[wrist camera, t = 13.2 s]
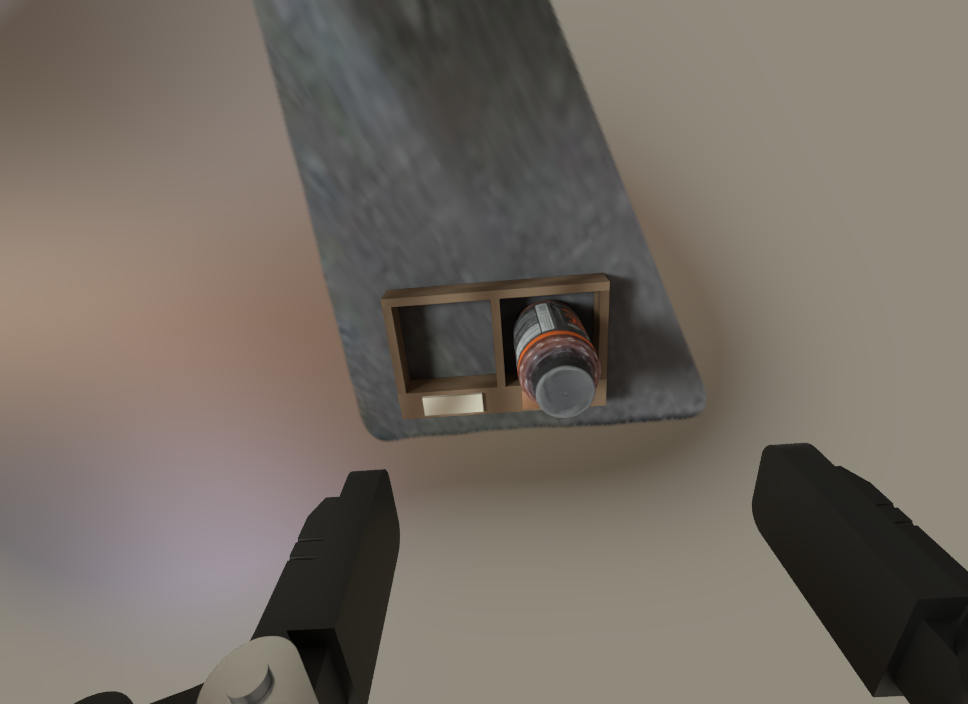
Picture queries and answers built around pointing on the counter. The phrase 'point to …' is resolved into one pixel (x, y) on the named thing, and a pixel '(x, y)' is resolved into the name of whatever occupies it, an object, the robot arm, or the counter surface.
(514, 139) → the counter surface
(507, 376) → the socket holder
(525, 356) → the supplement bottle
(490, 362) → the counter surface
